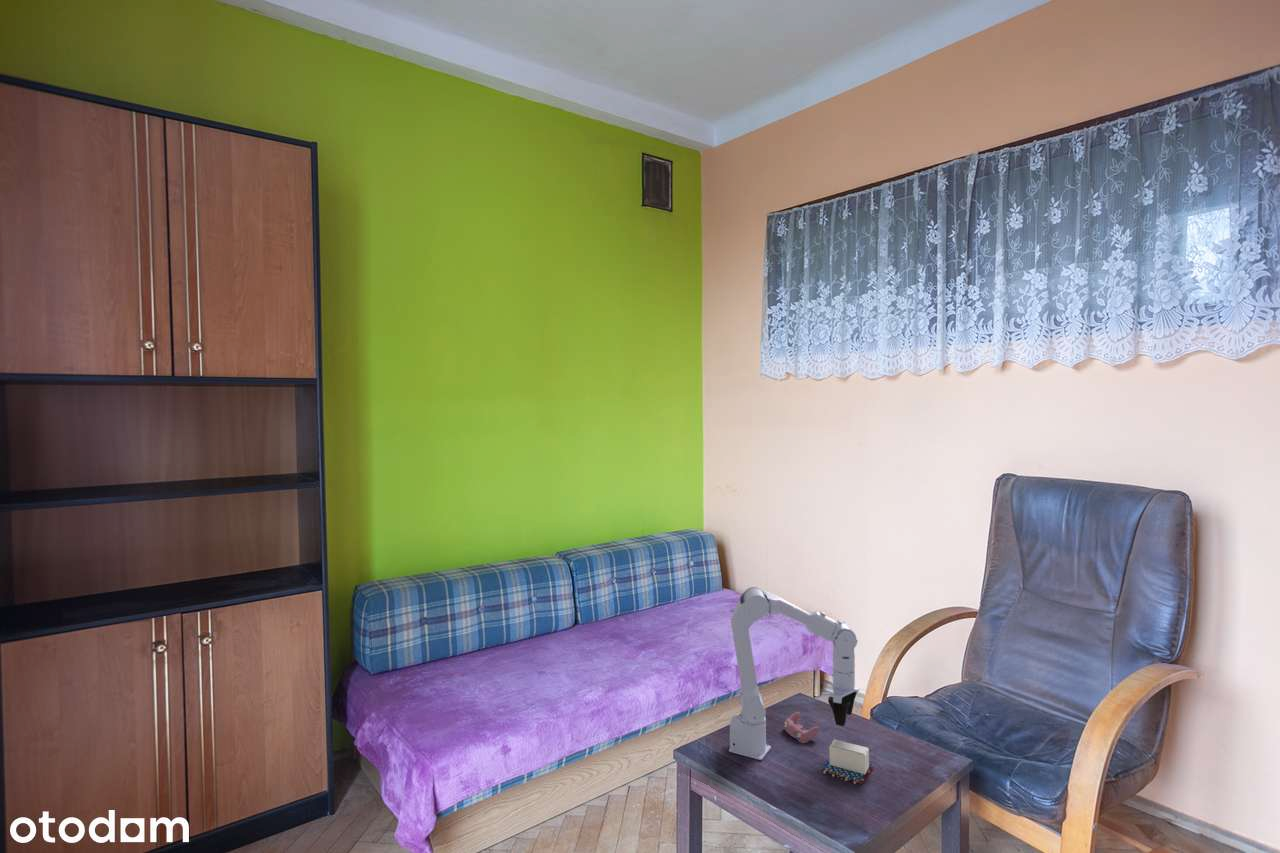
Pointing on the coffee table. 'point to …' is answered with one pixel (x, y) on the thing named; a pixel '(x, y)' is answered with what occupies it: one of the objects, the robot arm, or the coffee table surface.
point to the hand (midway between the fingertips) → (843, 719)
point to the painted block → (849, 756)
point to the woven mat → (846, 773)
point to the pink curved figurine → (799, 729)
